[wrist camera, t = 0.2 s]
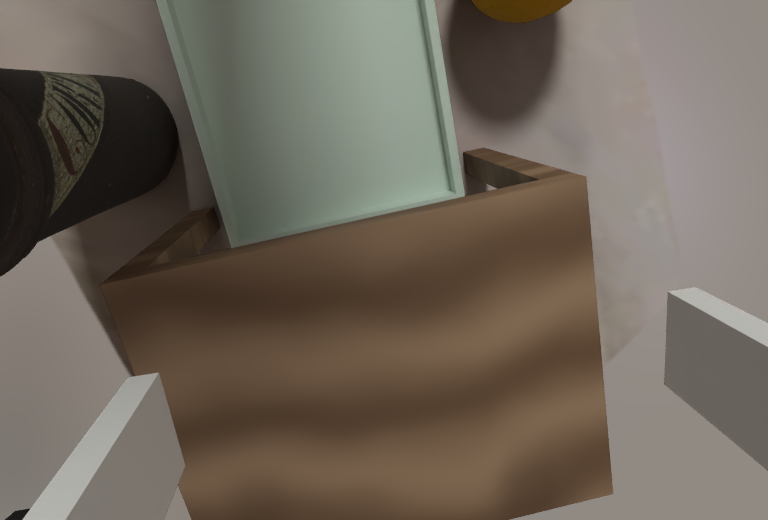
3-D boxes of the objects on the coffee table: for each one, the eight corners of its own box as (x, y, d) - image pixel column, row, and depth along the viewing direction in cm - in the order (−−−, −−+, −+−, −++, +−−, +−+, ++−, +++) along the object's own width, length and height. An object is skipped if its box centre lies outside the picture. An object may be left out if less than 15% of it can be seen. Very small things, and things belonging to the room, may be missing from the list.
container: (205, 116, 37) (72, 131, 18) (148, 224, 39) (-27, 341, 20) (85, 46, 35) (-209, -24, 16) (31, 162, 37) (-292, 226, 18)
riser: (192, 211, 39) (99, 285, 23) (483, 147, 39) (586, 176, 24) (258, 416, 44) (219, 590, 28) (513, 357, 45) (613, 493, 29)
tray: (128, -126, 32) (111, -144, 30) (397, -178, 33) (402, -200, 30) (238, 243, 39) (232, 252, 37) (457, 194, 40) (465, 200, 38)
